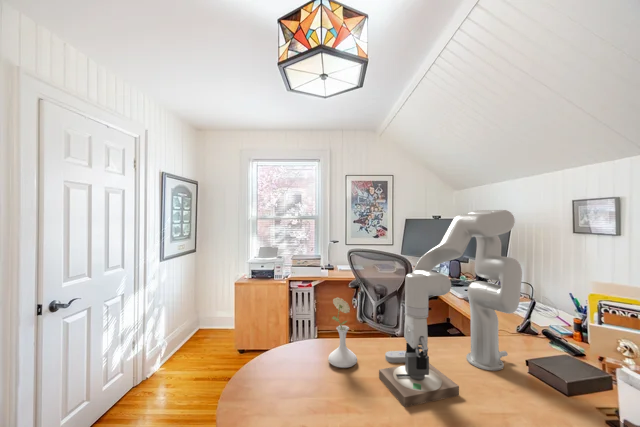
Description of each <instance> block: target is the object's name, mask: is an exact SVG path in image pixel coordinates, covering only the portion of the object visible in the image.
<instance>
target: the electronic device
mask: <svg viewBox="0 0 640 427" xmlns="http://www.w3.org/2000/svg"><path fill="white" fill-rule="evenodd" d="M419 352H421V350H419ZM405 353H406V350H389V351H386V352H385V355H384V356H385V361H386V362H388V363H391V364H392V363H393V364H394V363H395V364H397V363H398V364H400V363H401V364H403V363H405ZM416 353H417V351H416Z"/></svg>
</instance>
